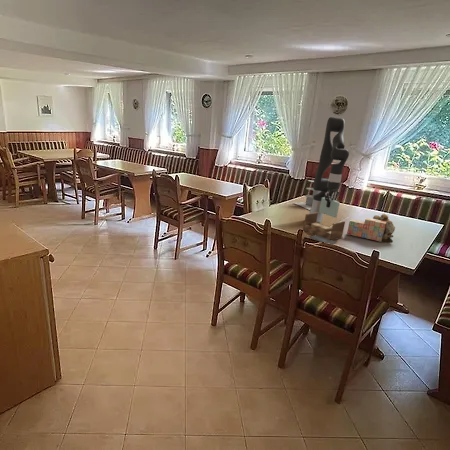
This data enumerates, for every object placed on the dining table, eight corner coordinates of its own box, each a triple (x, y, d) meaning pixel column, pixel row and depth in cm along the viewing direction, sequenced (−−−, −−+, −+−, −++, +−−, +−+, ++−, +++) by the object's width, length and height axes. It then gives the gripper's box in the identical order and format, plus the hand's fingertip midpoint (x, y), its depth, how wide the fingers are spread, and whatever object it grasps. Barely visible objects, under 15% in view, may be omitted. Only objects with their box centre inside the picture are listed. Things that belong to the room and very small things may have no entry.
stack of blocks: (346, 234, 218) (350, 216, 214) (347, 231, 223) (351, 214, 220) (381, 241, 209) (386, 223, 205) (382, 239, 214) (386, 221, 210)
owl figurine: (361, 236, 220) (366, 211, 215) (369, 233, 228) (374, 209, 223) (388, 245, 208) (395, 219, 203) (395, 241, 216) (402, 216, 211)
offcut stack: (308, 229, 221) (309, 223, 219) (313, 228, 224) (314, 222, 222) (329, 237, 209) (330, 230, 208) (333, 235, 212) (334, 229, 211)
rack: (303, 229, 222) (305, 214, 219) (313, 227, 229) (316, 212, 226) (331, 240, 206) (334, 223, 203) (341, 237, 213) (345, 221, 210)
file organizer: (342, 209, 292) (347, 185, 285) (310, 210, 277) (314, 184, 271) (322, 201, 314) (326, 179, 308) (292, 202, 300) (296, 178, 293)
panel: (319, 212, 219) (321, 197, 216) (321, 211, 221) (324, 197, 218) (334, 217, 211) (337, 202, 207) (336, 217, 212) (339, 202, 209)
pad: (309, 237, 208) (309, 236, 208) (316, 235, 213) (317, 234, 213) (328, 244, 198) (328, 244, 197) (335, 242, 203) (335, 241, 202)
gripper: (335, 179, 215) (330, 204, 221) (322, 180, 207) (317, 206, 212) (345, 181, 210) (340, 207, 216) (333, 182, 202) (327, 209, 207)
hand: (329, 206), depth 214 cm, fingers closed on panel, 2 cm apart
